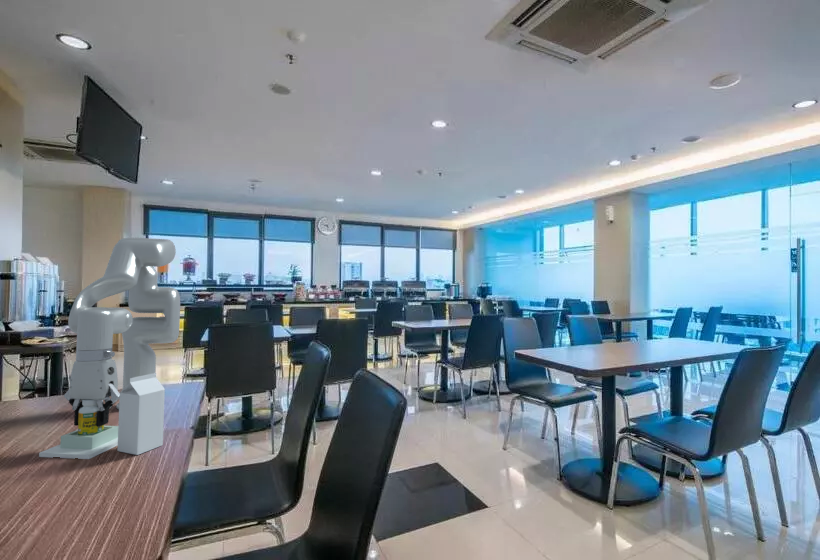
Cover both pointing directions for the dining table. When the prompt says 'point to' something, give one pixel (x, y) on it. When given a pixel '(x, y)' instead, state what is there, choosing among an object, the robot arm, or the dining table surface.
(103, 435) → the cup holder
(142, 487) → the dining table surface
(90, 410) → the supplement bottle
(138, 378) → the milk carton
